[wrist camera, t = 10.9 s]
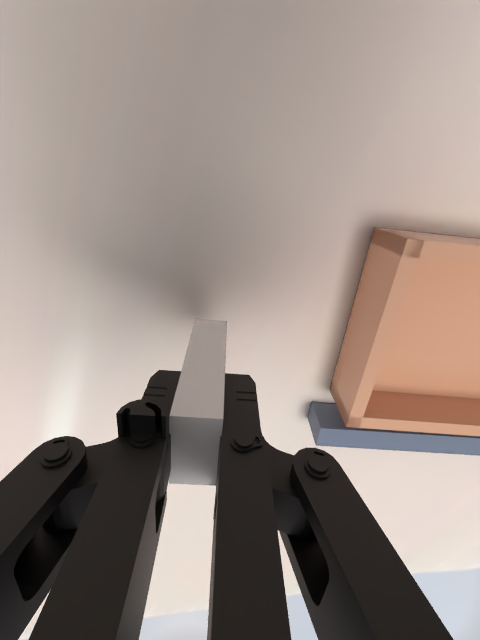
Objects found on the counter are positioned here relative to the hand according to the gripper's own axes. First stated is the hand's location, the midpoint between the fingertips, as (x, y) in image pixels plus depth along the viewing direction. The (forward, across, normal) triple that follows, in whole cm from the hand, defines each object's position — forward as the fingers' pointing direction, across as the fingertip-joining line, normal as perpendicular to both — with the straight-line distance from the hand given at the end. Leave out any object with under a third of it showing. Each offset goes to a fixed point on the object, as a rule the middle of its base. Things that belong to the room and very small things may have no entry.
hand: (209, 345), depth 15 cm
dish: (+4, +16, 0) cm, 17 cm away
